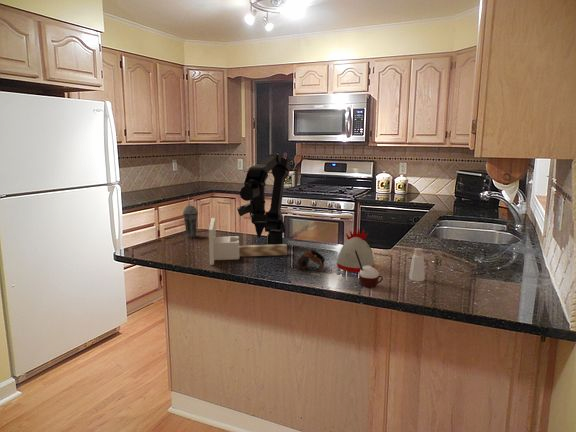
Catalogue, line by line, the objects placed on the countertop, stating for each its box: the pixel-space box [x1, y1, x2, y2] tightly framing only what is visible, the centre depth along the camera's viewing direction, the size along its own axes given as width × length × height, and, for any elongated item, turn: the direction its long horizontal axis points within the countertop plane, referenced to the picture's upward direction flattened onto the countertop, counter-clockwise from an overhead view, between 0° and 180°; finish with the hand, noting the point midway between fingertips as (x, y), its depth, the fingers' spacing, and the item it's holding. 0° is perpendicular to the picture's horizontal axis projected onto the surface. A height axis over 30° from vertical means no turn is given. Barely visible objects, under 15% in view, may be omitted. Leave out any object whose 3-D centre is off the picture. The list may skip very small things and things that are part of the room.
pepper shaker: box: [408, 247, 426, 283], centre depth 146 cm, size 5×5×11 cm
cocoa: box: [355, 250, 383, 288], centre depth 139 cm, size 10×6×12 cm, turn 68°
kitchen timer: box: [336, 228, 375, 273], centre depth 160 cm, size 14×14×15 cm
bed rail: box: [239, 243, 288, 258], centre depth 176 cm, size 23×6×5 cm, turn 98°
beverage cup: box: [182, 196, 199, 238], centre depth 208 cm, size 7×7×20 cm
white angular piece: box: [208, 217, 240, 266], centre depth 174 cm, size 12×24×14 cm, turn 8°
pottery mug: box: [296, 249, 326, 272], centre depth 156 cm, size 12×10×8 cm
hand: (258, 234), depth 175 cm, fingers open, 9 cm apart
